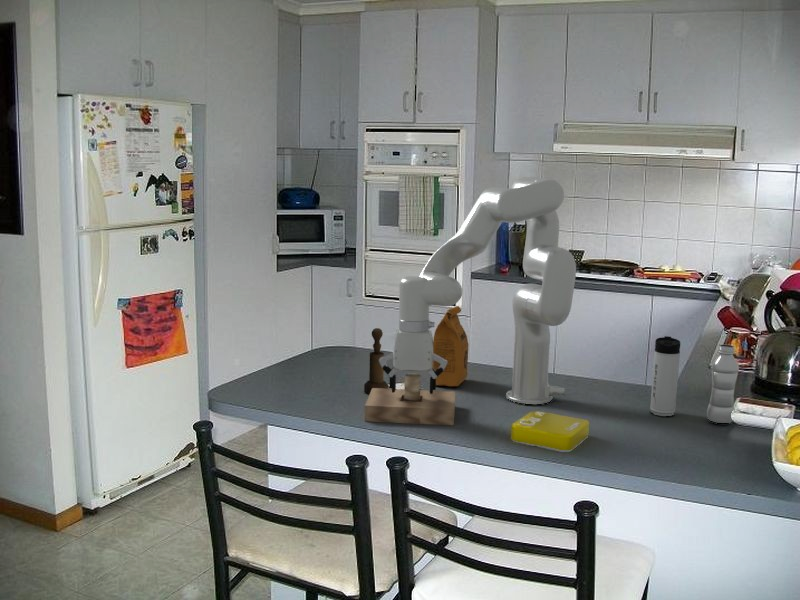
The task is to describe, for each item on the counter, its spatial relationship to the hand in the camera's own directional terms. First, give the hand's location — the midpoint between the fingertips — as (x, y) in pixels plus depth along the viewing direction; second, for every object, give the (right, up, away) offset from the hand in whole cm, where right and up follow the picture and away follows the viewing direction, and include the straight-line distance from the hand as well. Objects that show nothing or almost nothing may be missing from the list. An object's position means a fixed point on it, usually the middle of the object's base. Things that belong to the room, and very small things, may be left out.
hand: (412, 391), depth 222 cm
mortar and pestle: (-10, -2, +19) cm, 22 cm away
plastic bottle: (+78, -8, -1) cm, 78 cm away
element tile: (+32, -10, -16) cm, 37 cm away
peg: (0, -6, +1) cm, 6 cm away
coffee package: (+11, -1, +31) cm, 33 cm away
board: (0, -6, +1) cm, 6 cm away
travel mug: (+65, -7, +6) cm, 66 cm away
